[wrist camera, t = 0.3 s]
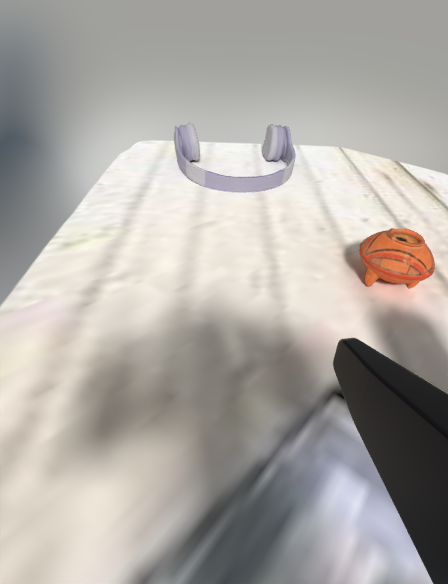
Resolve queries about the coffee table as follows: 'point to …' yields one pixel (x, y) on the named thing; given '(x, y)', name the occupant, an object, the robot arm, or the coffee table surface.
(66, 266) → the coffee table surface
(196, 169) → the headphones
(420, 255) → the pot
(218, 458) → the coffee table surface
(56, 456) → the coffee table surface
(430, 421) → the robot arm
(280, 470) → the coffee table surface
